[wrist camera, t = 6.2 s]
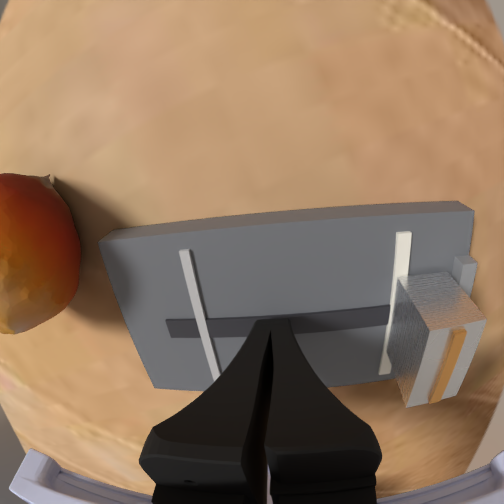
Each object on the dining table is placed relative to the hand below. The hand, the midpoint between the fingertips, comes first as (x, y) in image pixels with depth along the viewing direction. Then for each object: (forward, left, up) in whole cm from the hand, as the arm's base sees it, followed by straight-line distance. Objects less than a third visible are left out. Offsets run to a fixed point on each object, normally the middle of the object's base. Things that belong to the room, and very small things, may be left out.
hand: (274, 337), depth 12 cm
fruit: (+5, +12, -3) cm, 13 cm away
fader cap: (0, -6, -1) cm, 6 cm away
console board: (0, -1, -2) cm, 3 cm away
